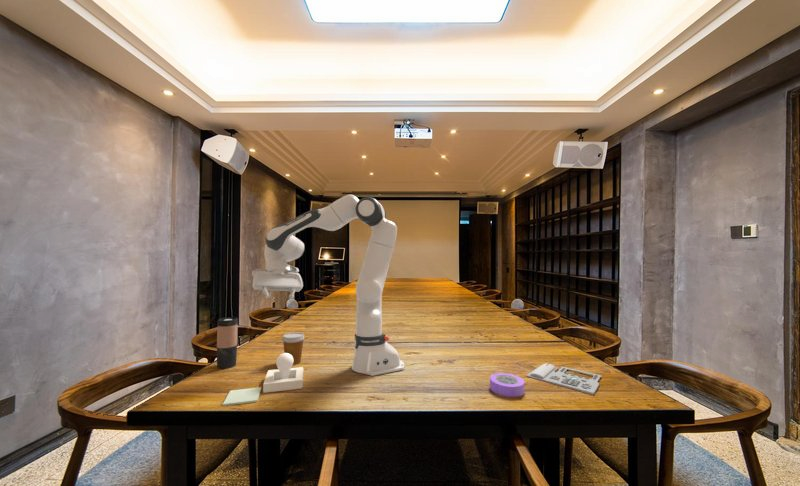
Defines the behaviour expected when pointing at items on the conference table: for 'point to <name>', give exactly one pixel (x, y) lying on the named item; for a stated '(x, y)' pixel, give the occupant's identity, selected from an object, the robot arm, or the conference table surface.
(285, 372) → the lightbulb
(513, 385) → the masking tape
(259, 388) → the pad
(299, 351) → the disposable coffee cup
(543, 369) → the office telephone
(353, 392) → the conference table surface
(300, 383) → the block
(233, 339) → the travel mug
